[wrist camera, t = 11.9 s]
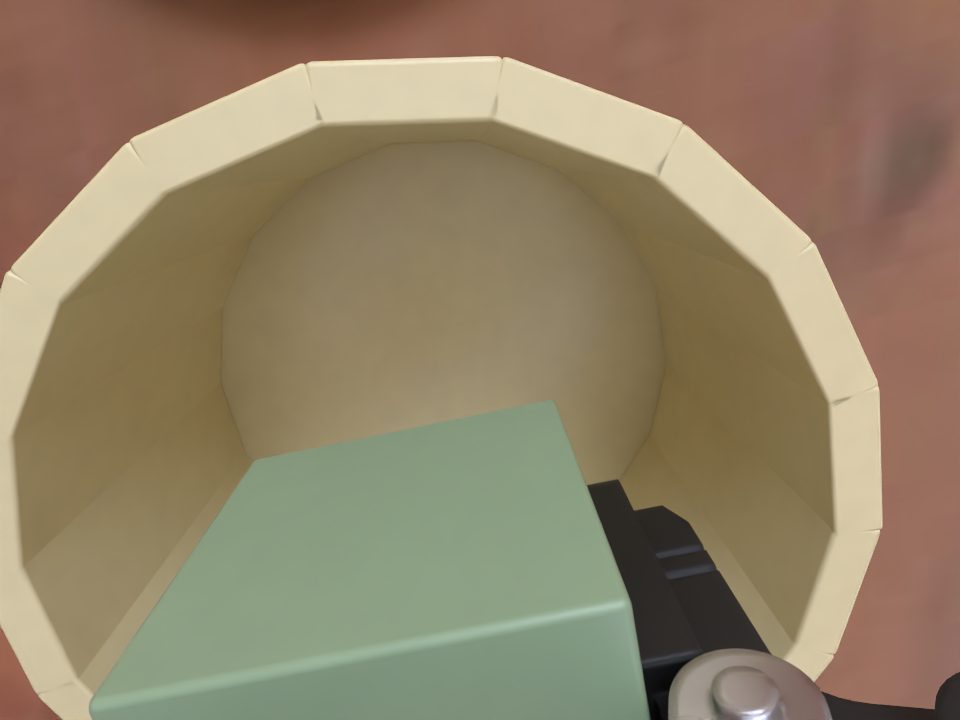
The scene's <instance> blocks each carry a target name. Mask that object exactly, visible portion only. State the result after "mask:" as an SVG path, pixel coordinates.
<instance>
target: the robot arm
mask: <svg viewBox="0 0 960 720" xmlns="http://www.w3.org/2000/svg"><path fill="white" fill-rule="evenodd" d="M587 487H588V490H589V493H590V495H591V498H592V500H593V503H594V506H595V508H596V511H597V514H598V516H599V519H600V521H601V524H602V527H603V529H604V532H605V535H606V537H607V540H608V543H609V545H610V548H611V550H612V553H613V556H614V558H615V561H616V564H617V566H618V569H619V571H620V574H621V577H622V579H623V582H624V585H625V587H626V590H627V593H628V595H629V598H630V600H631V603H632V609H633V615H634V621H635V627H636V633H637V639H638V645H639V652H640V658H641V664H642V670H643V676H644V682H645V688H646V694H647V701H648V707H649V713H650V719H651V720H960V672H959V673H956V674H955V675H953V676H952V677H950V678H949V679H947V680H946V681H945V682H944V683H943V685H942V686H941V687H940V689H939V691H938V693H937V696H936V702H935V709H924V708H913V707H901V706H890V705H879V704H869V703H862V702H855V701H851V700H847V699H843V698H838V697H836V696H833V695H830V694H827V693H824V692H822V691H821V690H820V689H819V687H818V686H817V685H816V684H815V683H814V682H813V681H812V679H811V678H810V677H808V676H807V675H806V674H805V673H804V672H803V671H801V670H800V669H799V668H797V667H796V666H794V665H792V664H791V663H789V662H787V661H785V660H783V659H781V658H779V657H777V656H774V655H772V654H771V653H770V651H769V650H768V648H767V647H766V645H765V643H764V642H763V640H762V639H761V637H760V635H759V634H758V632H757V631H756V629H755V627H754V626H753V624H752V623H751V621H750V619H749V618H748V616H747V615H746V613H745V611H744V610H743V608H742V607H741V605H740V603H739V602H738V600H737V599H736V597H735V595H734V594H733V592H732V591H731V589H730V587H729V586H728V584H727V583H726V581H725V579H724V578H723V576H722V575H721V573H720V571H719V570H717V569H716V565H715V563H714V562H713V560H712V559H711V557H710V555H709V554H708V552H707V551H706V550H704V547H703V544H702V543H701V541H700V539H699V538H698V536H697V535H696V533H695V531H694V530H693V528H692V527H691V525H690V523H689V522H688V521H686V520H685V519H683V518H682V517H680V516H678V515H677V514H675V513H674V512H672V511H671V510H669V509H667V508H666V507H664V506H663V505H661V506H655V507H650V508H645V509H640V510H635V511H634V510H633V508H632V505H631V503H630V501H629V499H628V497H627V495H626V493H625V491H624V489H623V487H622V485H621V483H620V481H619V480H618V479H615V480H610V481H605V482H600V483H595V484H590V485H587Z"/></svg>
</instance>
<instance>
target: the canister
mask: <svg viewBox="0 0 960 720" xmlns="http://www.w3.org/2000/svg"><path fill="white" fill-rule="evenodd" d="M877 385H878V382H877V380H876V377H875V375H874V373H873V371H872V368H871V366H870V364H869V362H868V360H867V357H866V355H865V353H864V351H863V349H862V346H861V344H860V342H859V340H858V338H857V335H856V333H855V331H854V329H853V327H852V324H851V322H850V320H849V318H848V316H847V313H846V311H845V309H844V307H843V305H842V302H841V300H840V298H839V296H838V293H837V291H836V289H835V287H834V285H833V282H832V280H831V278H830V276H829V274H828V271H827V269H826V267H825V265H824V263H823V260H822V258H821V256H820V254H819V252H818V249H817V247H816V245H815V244H814V243H812V242H811V240H810V238H809V237H808V236H807V235H806V234H805V233H804V232H803V231H802V230H801V229H800V228H799V227H798V226H796V225H795V224H794V223H793V222H792V221H791V220H790V219H789V218H788V217H787V216H786V215H784V214H783V213H782V212H781V211H780V210H779V209H778V208H777V207H776V206H775V205H774V204H772V203H771V202H770V201H769V200H768V199H767V198H766V197H765V196H764V195H763V194H762V193H760V192H759V191H758V190H757V189H756V188H755V187H754V186H753V185H752V184H751V183H750V182H748V181H747V180H746V179H745V178H744V177H743V176H742V175H741V174H740V173H739V172H738V171H736V170H735V169H734V168H733V167H732V166H731V165H730V164H729V163H728V162H727V161H726V160H724V159H723V158H722V157H721V156H720V155H719V154H718V153H717V152H716V151H715V150H714V149H712V148H711V147H710V146H709V145H708V144H707V143H706V142H705V141H704V140H703V139H702V138H700V137H699V136H698V135H697V134H696V133H695V132H694V131H693V130H692V129H691V128H690V127H688V126H686V125H682V122H681V121H680V120H677V119H675V118H672V117H669V116H667V115H664V114H661V113H658V112H656V111H653V110H650V109H647V108H645V107H642V106H639V105H637V104H634V103H631V102H628V101H626V100H623V99H620V98H617V97H615V96H612V95H609V94H607V93H604V92H601V91H598V90H596V89H593V88H590V87H588V86H585V85H582V84H579V83H577V82H574V81H571V80H568V79H566V78H563V77H560V76H558V75H555V74H552V73H549V72H547V71H544V70H541V69H538V68H536V67H533V66H530V65H528V64H525V63H522V62H519V61H517V60H514V59H511V58H509V57H504V58H503V60H502V58H500V57H498V56H482V57H447V58H413V59H379V60H345V61H311V62H309V63H307V64H306V65H305V64H298V65H295V66H293V67H291V68H288V69H286V70H284V71H282V72H279V73H277V74H275V75H273V76H270V77H268V78H266V79H264V80H261V81H259V82H257V83H255V84H252V85H250V86H248V87H246V88H243V89H241V90H239V91H237V92H234V93H232V94H230V95H227V96H225V97H223V98H221V99H218V100H216V101H214V102H212V103H209V104H207V105H205V106H203V107H200V108H198V109H196V110H194V111H191V112H189V113H187V114H185V115H182V116H180V117H178V118H175V119H173V120H171V121H169V122H166V123H164V124H162V125H160V126H157V127H155V128H153V129H151V130H148V131H146V132H144V133H142V134H139V135H137V136H135V137H133V138H132V139H131V140H130V143H127V144H124V145H123V146H122V148H121V149H120V150H119V151H118V152H117V153H116V154H115V155H114V156H113V157H112V158H111V159H110V160H109V162H108V163H107V164H106V165H105V166H104V167H103V168H102V169H101V170H100V171H99V172H98V173H97V175H96V176H95V177H94V178H93V179H92V180H91V181H90V182H89V183H88V184H87V185H86V186H85V188H84V189H83V190H82V191H81V192H80V193H79V194H78V195H77V196H76V197H75V198H74V199H73V200H72V202H71V203H70V204H69V205H68V206H67V207H66V208H65V209H64V210H63V211H62V212H61V213H60V215H59V216H58V217H57V218H56V219H55V220H54V221H53V222H52V223H51V224H50V225H49V226H48V228H47V229H46V230H45V231H44V232H43V233H42V234H41V235H40V236H39V237H38V238H37V239H36V240H35V242H34V243H33V244H32V245H31V246H30V247H29V248H28V249H27V250H26V251H25V252H24V253H23V255H22V256H21V257H20V258H19V259H18V260H17V261H16V262H15V263H14V264H13V266H12V267H11V271H8V272H7V273H6V274H5V277H4V280H3V283H2V286H1V289H0V626H1V628H2V630H3V632H4V634H5V636H6V637H7V639H8V641H9V643H10V645H11V647H12V649H13V651H14V653H15V655H16V657H17V659H18V660H19V662H20V664H21V666H22V668H23V670H24V672H25V674H26V676H27V678H28V680H29V682H30V683H31V685H32V687H33V689H34V691H35V692H36V693H37V694H39V695H38V696H39V698H40V699H41V700H42V701H43V702H44V703H45V704H46V705H47V706H48V707H49V708H50V709H51V710H53V711H54V712H55V713H56V714H57V715H58V716H59V717H60V718H61V719H62V720H92V718H91V716H90V714H89V703H90V700H91V699H92V697H93V696H94V694H95V693H96V691H97V690H98V688H99V687H100V685H101V684H102V682H103V681H104V679H105V678H106V677H107V675H108V674H109V672H110V671H111V669H112V668H113V666H114V665H115V663H116V662H117V660H118V659H119V658H120V656H121V655H122V653H123V652H124V650H125V649H126V647H127V646H128V644H129V643H130V641H131V640H132V639H133V637H134V636H135V634H136V633H137V631H138V630H139V628H140V627H141V625H142V624H143V622H144V621H145V620H146V618H147V617H148V615H149V614H150V612H151V611H152V609H153V608H154V606H155V605H156V603H157V602H158V601H159V599H160V598H161V596H162V595H163V593H164V592H165V590H166V589H167V587H168V586H169V584H170V583H171V582H172V580H173V579H174V577H175V576H176V574H177V573H178V571H179V570H180V568H181V567H182V565H183V564H184V562H185V561H186V560H187V558H188V557H189V555H190V554H191V552H192V551H193V549H194V548H195V546H196V545H197V543H198V542H199V541H200V539H201V538H202V536H203V535H204V533H205V532H206V530H207V529H208V527H209V526H210V524H211V523H212V522H213V520H214V519H215V517H216V516H217V514H218V513H219V511H220V510H221V508H222V507H223V505H224V504H225V503H226V501H227V500H228V498H229V497H230V495H231V494H232V492H233V491H234V489H235V488H236V486H237V485H238V484H239V482H240V481H241V479H242V478H243V476H244V475H245V473H246V472H247V470H248V469H249V467H250V466H251V465H252V463H253V462H254V461H256V460H258V459H263V458H268V457H273V456H278V455H283V454H287V453H292V452H297V451H302V450H307V449H312V448H317V447H322V446H327V445H332V444H337V443H341V442H346V441H351V440H356V439H361V438H366V437H371V436H376V435H381V434H386V433H390V432H395V431H400V430H405V429H410V428H415V427H420V426H425V425H430V424H435V423H440V422H444V421H449V420H454V419H459V418H464V417H469V416H474V415H479V414H484V413H489V412H493V411H498V410H503V409H508V408H513V407H518V406H523V405H528V404H533V403H538V402H543V401H547V400H551V401H554V402H555V404H556V406H557V408H558V411H559V414H560V416H561V419H562V421H563V424H564V427H565V429H566V432H567V435H568V437H569V440H570V443H571V445H572V448H573V450H574V453H575V456H576V458H577V461H578V464H579V466H580V469H581V471H582V474H583V477H584V479H585V482H586V485H590V484H595V483H600V482H605V481H610V480H615V479H618V480H619V481H620V483H621V485H622V487H623V489H624V491H625V493H626V495H627V497H628V499H629V501H630V503H631V505H632V508H633V510H634V511H635V510H640V509H645V508H650V507H655V506H661V505H663V506H664V507H666V508H667V509H669V510H671V511H672V512H674V513H675V514H677V515H678V516H680V517H682V518H683V519H685V520H686V521H688V522H689V523H690V525H691V527H692V528H693V530H694V531H695V533H696V535H697V536H698V538H699V539H700V541H701V543H702V544H703V547H704V550H706V551H707V552H708V554H709V555H710V557H711V559H712V560H713V562H714V563H715V565H716V569H717V570H719V571H720V573H721V575H722V576H723V578H724V579H725V581H726V583H727V584H728V586H729V587H730V589H731V591H732V592H733V594H734V595H735V597H736V599H737V600H738V602H739V603H740V605H741V607H742V608H743V610H744V611H745V613H746V615H747V616H748V618H749V619H750V621H751V623H752V624H753V626H754V627H755V629H756V631H757V632H758V634H759V635H760V637H761V639H762V640H763V642H764V643H765V645H766V647H767V648H768V650H769V651H770V653H771V654H772V655H774V656H777V657H779V658H781V659H783V660H785V661H787V662H789V663H791V664H792V665H794V666H796V667H797V668H799V669H800V670H801V671H803V672H804V673H805V674H806V675H807V676H808V677H810V678H811V679H812V681H813V682H814V681H815V680H816V679H817V678H818V676H819V675H820V674H821V673H822V672H823V670H824V669H825V668H826V667H827V666H828V664H829V663H830V662H831V661H832V660H833V654H834V653H835V652H836V651H837V649H838V646H839V643H840V640H841V638H842V635H843V632H844V630H845V627H846V624H847V622H848V619H849V616H850V613H851V611H852V608H853V605H854V603H855V600H856V597H857V595H858V592H859V589H860V586H861V584H862V581H863V578H864V576H865V573H866V570H867V568H868V565H869V562H870V559H871V557H872V554H873V551H874V549H875V546H876V543H877V541H878V538H879V535H880V530H879V529H881V528H882V482H881V438H880V395H879V388H878V386H877Z"/></svg>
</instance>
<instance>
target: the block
mask: <svg viewBox="0 0 960 720" xmlns="http://www.w3.org/2000/svg"><path fill="white" fill-rule="evenodd" d="M89 714H90V716H91V718H92V720H651V719H650V713H649V707H648V701H647V694H646V688H645V682H644V676H643V670H642V664H641V658H640V652H639V645H638V639H637V633H636V627H635V621H634V615H633V609H632V603H631V600H630V598H629V595H628V593H627V590H626V587H625V585H624V582H623V579H622V577H621V574H620V571H619V569H618V566H617V564H616V561H615V558H614V556H613V553H612V550H611V548H610V545H609V543H608V540H607V537H606V535H605V532H604V529H603V527H602V524H601V521H600V519H599V516H598V514H597V511H596V508H595V506H594V503H593V500H592V498H591V495H590V493H589V490H588V487H587V485H586V482H585V479H584V477H583V474H582V471H581V469H580V466H579V464H578V461H577V458H576V456H575V453H574V450H573V448H572V445H571V443H570V440H569V437H568V435H567V432H566V429H565V427H564V424H563V421H562V419H561V416H560V414H559V411H558V408H557V406H556V404H555V402H554V401H551V400H547V401H543V402H538V403H533V404H528V405H523V406H518V407H513V408H508V409H503V410H498V411H493V412H489V413H484V414H479V415H474V416H469V417H464V418H459V419H454V420H449V421H444V422H440V423H435V424H430V425H425V426H420V427H415V428H410V429H405V430H400V431H395V432H390V433H386V434H381V435H376V436H371V437H366V438H361V439H356V440H351V441H346V442H341V443H337V444H332V445H327V446H322V447H317V448H312V449H307V450H302V451H297V452H292V453H287V454H283V455H278V456H273V457H268V458H263V459H258V460H256V461H254V462H253V463H252V465H251V466H250V467H249V469H248V470H247V472H246V473H245V475H244V476H243V478H242V479H241V481H240V482H239V484H238V485H237V486H236V488H235V489H234V491H233V492H232V494H231V495H230V497H229V498H228V500H227V501H226V503H225V504H224V505H223V507H222V508H221V510H220V511H219V513H218V514H217V516H216V517H215V519H214V520H213V522H212V523H211V524H210V526H209V527H208V529H207V530H206V532H205V533H204V535H203V536H202V538H201V539H200V541H199V542H198V543H197V545H196V546H195V548H194V549H193V551H192V552H191V554H190V555H189V557H188V558H187V560H186V561H185V562H184V564H183V565H182V567H181V568H180V570H179V571H178V573H177V574H176V576H175V577H174V579H173V580H172V582H171V583H170V584H169V586H168V587H167V589H166V590H165V592H164V593H163V595H162V596H161V598H160V599H159V601H158V602H157V603H156V605H155V606H154V608H153V609H152V611H151V612H150V614H149V615H148V617H147V618H146V620H145V621H144V622H143V624H142V625H141V627H140V628H139V630H138V631H137V633H136V634H135V636H134V637H133V639H132V640H131V641H130V643H129V644H128V646H127V647H126V649H125V650H124V652H123V653H122V655H121V656H120V658H119V659H118V660H117V662H116V663H115V665H114V666H113V668H112V669H111V671H110V672H109V674H108V675H107V677H106V678H105V679H104V681H103V682H102V684H101V685H100V687H99V688H98V690H97V691H96V693H95V694H94V696H93V697H92V699H91V700H90V703H89Z"/></svg>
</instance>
